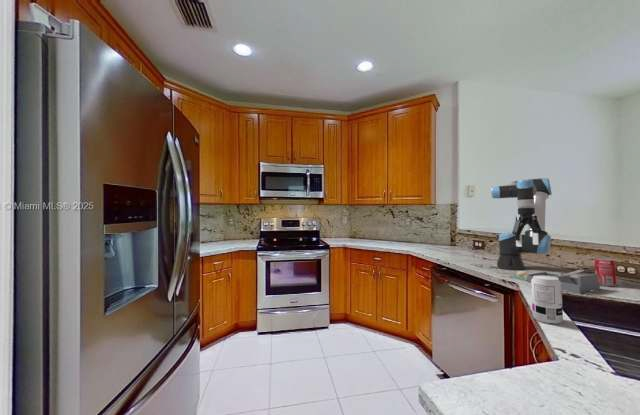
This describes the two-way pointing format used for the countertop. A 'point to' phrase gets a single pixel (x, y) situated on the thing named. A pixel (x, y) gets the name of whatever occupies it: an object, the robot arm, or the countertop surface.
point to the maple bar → (523, 274)
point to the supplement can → (547, 299)
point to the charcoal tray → (574, 282)
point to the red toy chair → (605, 271)
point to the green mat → (518, 277)
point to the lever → (568, 274)
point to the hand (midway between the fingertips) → (527, 245)
